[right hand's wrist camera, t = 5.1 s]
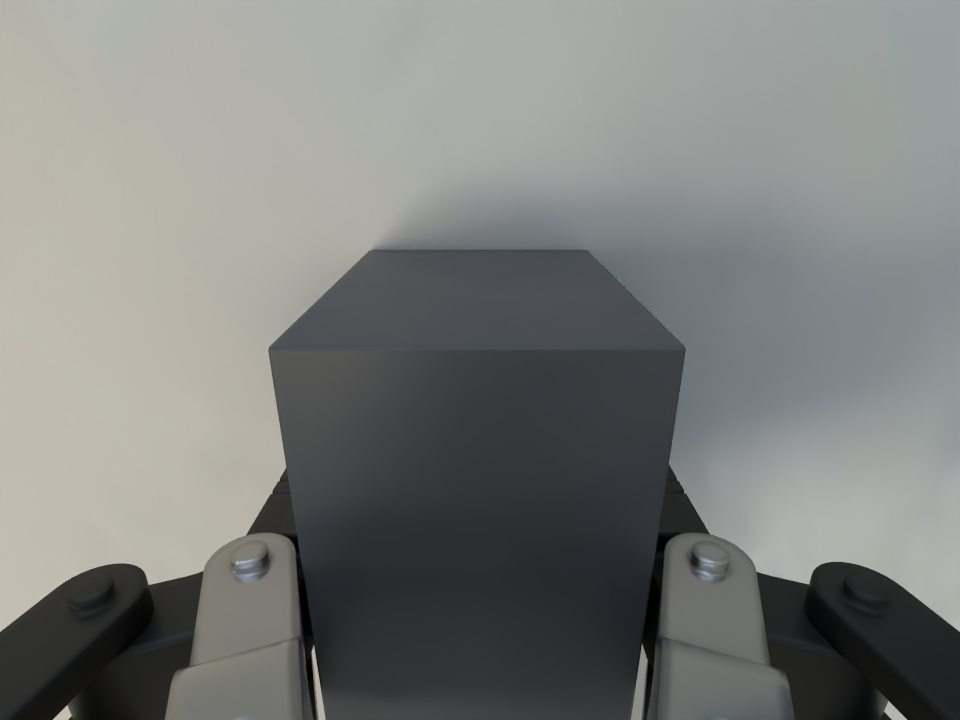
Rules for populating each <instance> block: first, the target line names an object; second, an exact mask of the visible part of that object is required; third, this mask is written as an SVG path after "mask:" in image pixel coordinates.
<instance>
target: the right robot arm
mask: <svg viewBox="0 0 960 720" xmlns="http://www.w3.org/2000/svg"><path fill="white" fill-rule="evenodd" d="M642 644H643V647H644V650H645V653H646V657H647V659H648V660H647V666H646V674H645V685H644V697H643V708H642V719H641V720H891V719H890V718H889V716H888V715H887V714H886V713H885V712H884V710H885V708H886V705H887V703H888V701H889V702H890V703H891V704H892V705H893V706H894V707H895V708H896V709H897V710H898V711H899V712H900V713H901V714H902V715H903V716H904V717H905V718H906V719H907V720H960V632H959V631H958V630H956V629H955V628H954V627H953V626H951V625H950V624H949V623H948V622H946V621H945V620H944V619H942V618H941V617H940V616H939V615H937V614H936V613H935V612H933V611H932V610H931V609H930V608H928V607H927V606H926V605H925V604H923V603H922V602H921V601H919V600H918V599H917V598H916V597H914V596H913V595H912V594H910V593H909V592H908V591H907V590H905V589H904V588H903V587H901V586H900V585H899V584H897V583H896V582H894V581H893V580H891V579H890V578H888V577H886V576H884V575H882V574H880V573H878V572H876V571H874V570H871V569H869V568H866V567H863V566H860V565H856V564H851V563H845V562H829V563H825V564H821V565H820V566H818V567H817V568H816V569H815V570H814V571H813V574H812V577H811V580H810V583H809V585H808V584H803V583H799V582H795V581H790V580H786V579H782V578H777V577H773V576H769V575H765V574H761V573H758V572H756V569H755V566H754V564H753V562H752V560H751V559H750V558H749V556H748V555H747V554H746V553H745V552H744V551H742V550H741V549H740V548H739V547H737V546H736V545H734V544H732V543H731V542H729V541H727V540H724V539H722V538H719V537H717V536H713V535H710V534H709V532H708V530H707V529H706V527H705V525H704V524H703V522H702V520H701V518H700V517H699V515H698V513H697V512H696V510H695V508H694V507H693V505H692V503H691V501H690V500H689V498H688V496H687V495H686V494H684V490H683V488H682V486H681V484H680V483H679V481H677V478H676V476H675V474H674V473H673V471H672V469H671V467H670V466H669V465H668V471H667V478H666V485H665V491H664V498H663V505H662V512H661V518H660V525H659V532H658V539H657V545H656V552H655V559H654V565H653V572H652V579H651V586H650V592H649V599H648V606H647V612H646V619H645V626H644V633H643V639H642ZM313 646H314V640H313V634H312V627H311V621H310V615H309V608H308V602H307V595H306V589H305V582H304V576H303V570H302V563H301V557H300V550H299V544H298V537H297V531H296V524H295V518H294V512H293V505H292V499H291V492H290V486H289V479H288V473H287V468H286V469H285V471H284V473H283V474H282V476H281V478H280V481H278V483H277V485H276V486H275V488H274V490H273V494H271V495H270V496H269V498H268V500H267V501H266V503H265V505H264V506H263V508H262V510H261V511H260V513H259V515H258V516H257V518H256V520H255V521H254V523H253V525H252V526H251V528H250V530H249V531H248V533H247V535H246V536H243V537H241V538H238V539H236V540H233V541H231V542H229V543H228V544H226V545H224V546H223V547H221V548H220V549H219V550H218V551H216V552H215V553H214V554H213V555H212V556H211V558H210V559H209V560H208V562H207V564H206V566H205V569H204V571H203V572H200V573H197V574H194V575H190V576H187V577H183V578H178V579H174V580H170V581H165V582H161V583H156V584H152V585H148V582H147V578H146V575H145V573H144V571H143V570H142V569H141V568H139V567H137V566H134V565H131V564H111V565H105V566H101V567H97V568H94V569H91V570H88V571H86V572H83V573H81V574H79V575H77V576H75V577H73V578H71V579H69V580H68V581H66V582H64V583H63V584H62V585H60V586H59V587H57V588H56V589H55V590H53V591H52V592H51V593H50V594H48V595H47V596H46V597H44V598H43V599H42V600H41V601H39V602H38V603H37V604H35V605H34V606H33V607H32V608H30V609H29V610H28V611H27V612H25V613H24V614H23V615H21V616H20V617H19V618H18V619H16V620H15V621H14V622H12V623H11V624H10V625H9V626H7V627H6V628H5V629H4V630H2V631H1V632H0V720H53V719H54V718H55V717H56V716H57V715H58V714H59V713H60V712H61V711H62V710H63V709H64V708H65V707H66V706H67V705H68V707H69V710H70V712H71V715H72V716H71V717H70V719H69V720H319V719H318V708H317V697H316V685H315V674H314V666H313V660H312V653H311V652H312V649H313Z"/></svg>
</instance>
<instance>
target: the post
mask: <svg viewBox="0 0 960 720" xmlns="http://www.w3.org/2000/svg"><path fill="white" fill-rule="evenodd" d="M685 350H686V349H685V346H684V345H683V344H682V343H681V342H680V341H678V340H677V339H676V338H675V337H674V336H673V335H672V334H671V333H670V332H669V331H668V330H667V329H666V328H665V327H664V326H663V325H662V324H661V323H660V322H659V321H658V320H657V319H656V318H655V317H654V316H653V315H652V314H651V313H650V312H649V311H648V310H647V309H646V308H645V307H644V306H643V305H642V304H641V303H640V302H639V301H638V300H637V299H636V298H635V297H634V296H633V295H632V294H631V293H630V292H629V291H628V290H627V289H626V288H625V287H624V286H623V285H622V284H621V283H620V282H619V281H618V280H617V279H616V278H615V277H614V276H613V275H612V274H611V273H610V272H609V271H608V270H607V269H606V268H605V267H604V266H603V265H602V264H600V263H599V262H598V261H597V260H596V259H595V258H594V257H593V256H592V255H591V254H590V253H589V252H588V251H587V250H371V251H369V252H368V253H367V254H366V255H365V256H364V257H363V258H361V259H360V260H359V261H358V262H357V263H356V264H355V265H354V266H353V267H352V268H351V269H350V270H349V271H348V272H347V273H346V274H345V275H344V276H343V277H342V278H341V279H340V280H339V281H338V282H336V283H335V284H334V285H333V286H332V287H331V288H330V289H329V290H328V291H327V292H326V293H325V294H324V295H323V296H322V297H321V298H320V299H319V300H318V301H317V302H316V303H315V304H314V305H313V306H311V307H310V308H309V309H308V310H307V311H306V312H305V313H304V314H303V315H302V316H301V317H300V318H299V319H298V320H297V321H296V322H295V323H294V324H293V325H292V326H291V327H290V328H289V329H288V330H286V331H285V332H284V333H283V334H282V335H281V336H280V337H279V338H278V339H277V340H276V341H275V342H274V343H273V344H272V345H271V346H270V347H269V350H268V351H269V357H270V364H271V370H272V377H273V383H274V389H275V396H276V402H277V409H278V415H279V422H280V428H281V434H282V441H283V447H284V454H285V460H286V467H287V473H288V479H289V486H290V492H291V499H292V505H293V512H294V518H295V524H296V531H297V537H298V544H299V550H300V557H301V563H302V570H303V576H304V582H305V589H306V595H307V602H308V608H309V615H310V621H311V627H312V634H313V640H314V647H315V653H316V660H317V666H318V672H319V679H320V685H321V692H322V698H323V705H324V711H325V717H326V720H631V713H632V706H633V700H634V693H635V686H636V680H637V673H638V666H639V659H640V653H641V646H642V639H643V633H644V626H645V619H646V612H647V606H648V599H649V592H650V586H651V579H652V572H653V565H654V559H655V552H656V545H657V539H658V532H659V525H660V518H661V512H662V505H663V498H664V491H665V485H666V478H667V471H668V465H669V458H670V451H671V444H672V438H673V431H674V424H675V418H676V411H677V404H678V397H679V391H680V384H681V377H682V371H683V364H684V357H685Z"/></svg>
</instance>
